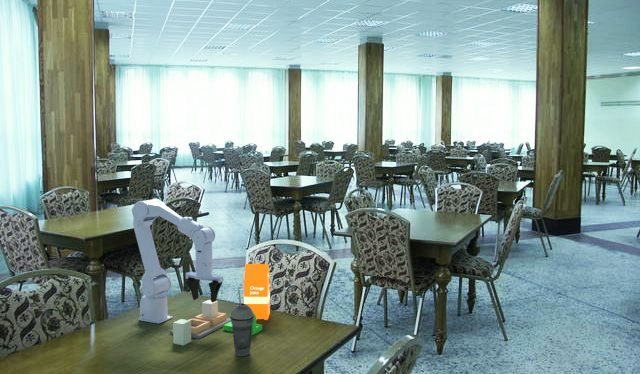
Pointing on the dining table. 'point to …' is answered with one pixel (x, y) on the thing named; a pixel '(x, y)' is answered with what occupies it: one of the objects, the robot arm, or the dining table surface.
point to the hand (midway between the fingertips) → (204, 300)
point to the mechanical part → (255, 327)
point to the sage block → (182, 332)
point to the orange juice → (257, 289)
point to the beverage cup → (242, 327)
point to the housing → (206, 325)
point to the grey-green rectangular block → (209, 309)
